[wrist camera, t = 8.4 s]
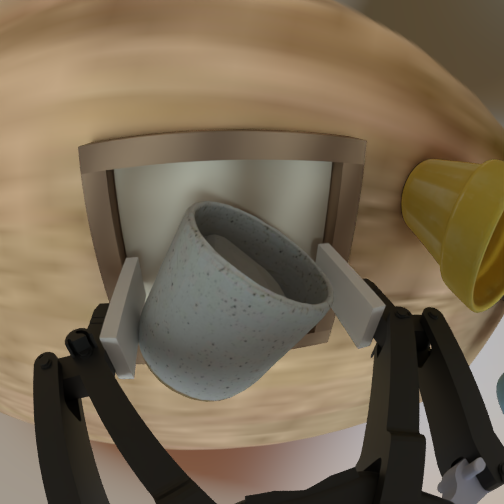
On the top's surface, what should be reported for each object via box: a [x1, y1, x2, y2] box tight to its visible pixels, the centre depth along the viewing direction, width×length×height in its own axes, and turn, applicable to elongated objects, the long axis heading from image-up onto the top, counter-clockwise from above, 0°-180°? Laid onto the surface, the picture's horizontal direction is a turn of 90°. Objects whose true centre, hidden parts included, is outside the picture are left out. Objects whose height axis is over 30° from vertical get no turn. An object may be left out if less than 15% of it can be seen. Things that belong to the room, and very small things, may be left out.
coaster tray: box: [78, 129, 367, 364], centre depth 17 cm, size 16×16×2 cm
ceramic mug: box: [138, 201, 334, 402], centre depth 14 cm, size 11×8×8 cm
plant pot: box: [401, 159, 504, 313], centre depth 16 cm, size 10×10×10 cm
